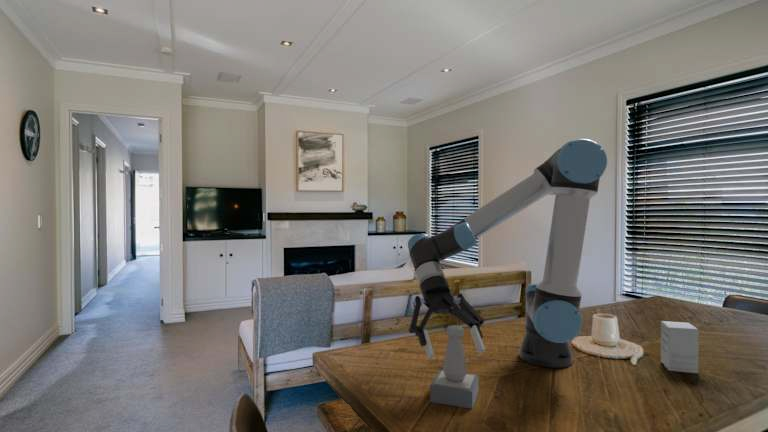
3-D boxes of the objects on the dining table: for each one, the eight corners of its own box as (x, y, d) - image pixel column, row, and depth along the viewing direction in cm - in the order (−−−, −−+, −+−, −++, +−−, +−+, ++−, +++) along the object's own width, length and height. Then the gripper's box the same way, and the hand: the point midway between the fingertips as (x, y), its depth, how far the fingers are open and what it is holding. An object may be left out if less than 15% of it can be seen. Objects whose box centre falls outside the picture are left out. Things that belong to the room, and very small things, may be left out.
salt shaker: (466, 384, 99) (466, 330, 98) (442, 382, 100) (442, 329, 100) (466, 375, 104) (466, 323, 104) (443, 373, 106) (443, 322, 105)
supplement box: (689, 364, 122) (689, 322, 122) (698, 374, 115) (699, 329, 115) (660, 361, 125) (660, 320, 125) (667, 371, 118) (668, 326, 118)
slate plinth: (478, 391, 105) (478, 374, 105) (472, 408, 96) (472, 390, 96) (439, 385, 109) (439, 368, 109) (430, 401, 99) (430, 384, 99)
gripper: (468, 287, 121) (496, 356, 107) (386, 292, 114) (404, 366, 100) (477, 272, 116) (508, 342, 102) (392, 276, 109) (412, 352, 95)
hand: (457, 354), depth 101 cm, fingers open, 13 cm apart
